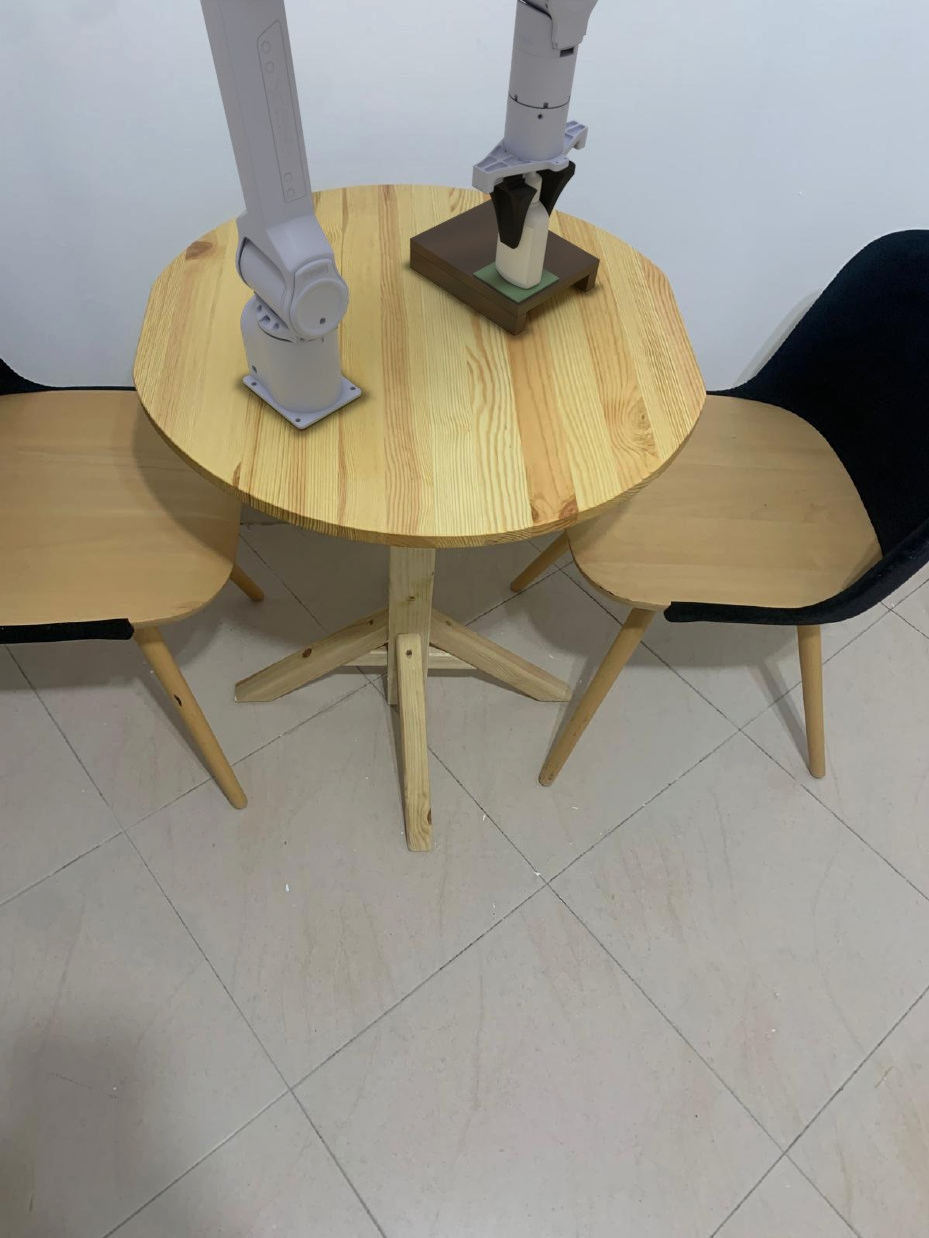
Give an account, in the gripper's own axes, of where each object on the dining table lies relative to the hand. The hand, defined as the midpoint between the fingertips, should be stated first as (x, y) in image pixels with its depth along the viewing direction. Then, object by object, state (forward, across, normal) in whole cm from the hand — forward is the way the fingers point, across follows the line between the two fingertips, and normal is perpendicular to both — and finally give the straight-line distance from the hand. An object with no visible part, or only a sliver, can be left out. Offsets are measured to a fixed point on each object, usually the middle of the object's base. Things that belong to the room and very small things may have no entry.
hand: (521, 237), depth 82 cm
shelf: (+8, +3, +5) cm, 10 cm away
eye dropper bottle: (+5, 0, 0) cm, 5 cm away
